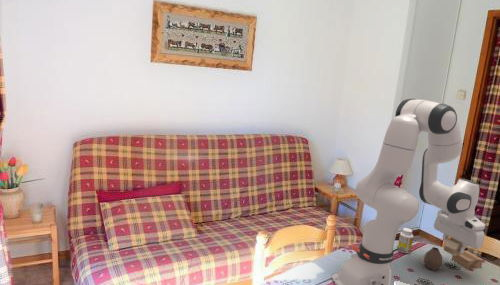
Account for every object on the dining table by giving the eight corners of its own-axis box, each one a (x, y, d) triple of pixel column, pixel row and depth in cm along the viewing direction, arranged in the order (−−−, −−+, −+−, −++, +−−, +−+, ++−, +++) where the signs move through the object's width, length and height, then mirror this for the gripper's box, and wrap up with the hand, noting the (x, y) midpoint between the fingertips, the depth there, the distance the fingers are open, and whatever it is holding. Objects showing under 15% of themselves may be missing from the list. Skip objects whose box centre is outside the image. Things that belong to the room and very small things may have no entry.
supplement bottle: (408, 248, 172) (412, 227, 170) (412, 254, 167) (416, 233, 165) (395, 247, 173) (399, 226, 170) (399, 252, 167) (403, 231, 165)
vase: (443, 273, 152) (447, 253, 151) (425, 270, 154) (428, 251, 152) (438, 265, 159) (442, 246, 157) (421, 262, 160) (424, 243, 159)
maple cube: (454, 255, 153) (456, 244, 152) (443, 249, 158) (446, 238, 157) (462, 254, 156) (464, 243, 155) (451, 248, 160) (453, 237, 159)
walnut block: (466, 269, 158) (468, 261, 157) (451, 260, 165) (453, 251, 164) (480, 268, 160) (482, 259, 160) (465, 258, 168) (467, 250, 167)
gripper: (434, 208, 162) (427, 238, 164) (479, 228, 143) (471, 261, 146) (443, 207, 164) (437, 236, 167) (489, 227, 146) (481, 259, 149)
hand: (453, 248), depth 156 cm, fingers closed on maple cube, 5 cm apart
